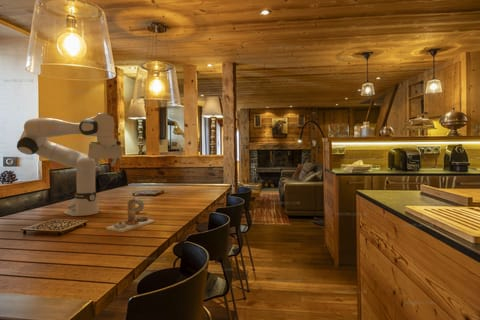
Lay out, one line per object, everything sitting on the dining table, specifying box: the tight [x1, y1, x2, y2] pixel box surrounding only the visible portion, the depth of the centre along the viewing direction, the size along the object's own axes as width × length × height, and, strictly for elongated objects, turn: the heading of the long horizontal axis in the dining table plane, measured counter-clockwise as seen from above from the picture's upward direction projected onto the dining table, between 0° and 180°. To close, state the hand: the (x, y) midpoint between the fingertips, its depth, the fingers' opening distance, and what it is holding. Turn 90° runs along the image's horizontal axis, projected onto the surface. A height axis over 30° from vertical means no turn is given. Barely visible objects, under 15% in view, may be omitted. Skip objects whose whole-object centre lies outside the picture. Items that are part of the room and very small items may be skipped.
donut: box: [134, 197, 145, 214], centre depth 196 cm, size 10×4×10 cm, turn 104°
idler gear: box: [124, 198, 138, 225], centre depth 164 cm, size 7×7×14 cm
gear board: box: [105, 215, 156, 233], centre depth 165 cm, size 12×24×4 cm, turn 154°
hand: (106, 166), depth 165 cm, fingers open, 8 cm apart
